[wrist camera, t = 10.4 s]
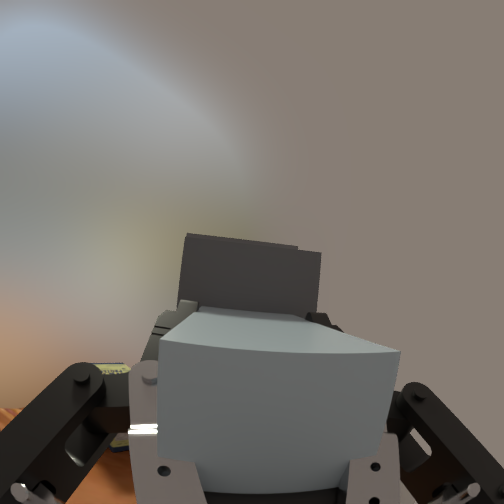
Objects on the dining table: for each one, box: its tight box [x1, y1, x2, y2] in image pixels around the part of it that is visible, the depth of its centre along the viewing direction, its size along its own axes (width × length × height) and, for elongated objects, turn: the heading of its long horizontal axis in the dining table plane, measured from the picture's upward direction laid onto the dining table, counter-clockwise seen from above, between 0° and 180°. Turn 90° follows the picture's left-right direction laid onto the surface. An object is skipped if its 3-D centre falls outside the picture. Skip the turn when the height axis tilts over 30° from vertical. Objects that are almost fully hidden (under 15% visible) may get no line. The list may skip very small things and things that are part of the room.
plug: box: [157, 237, 401, 494], centre depth 14 cm, size 19×7×7 cm, turn 6°
